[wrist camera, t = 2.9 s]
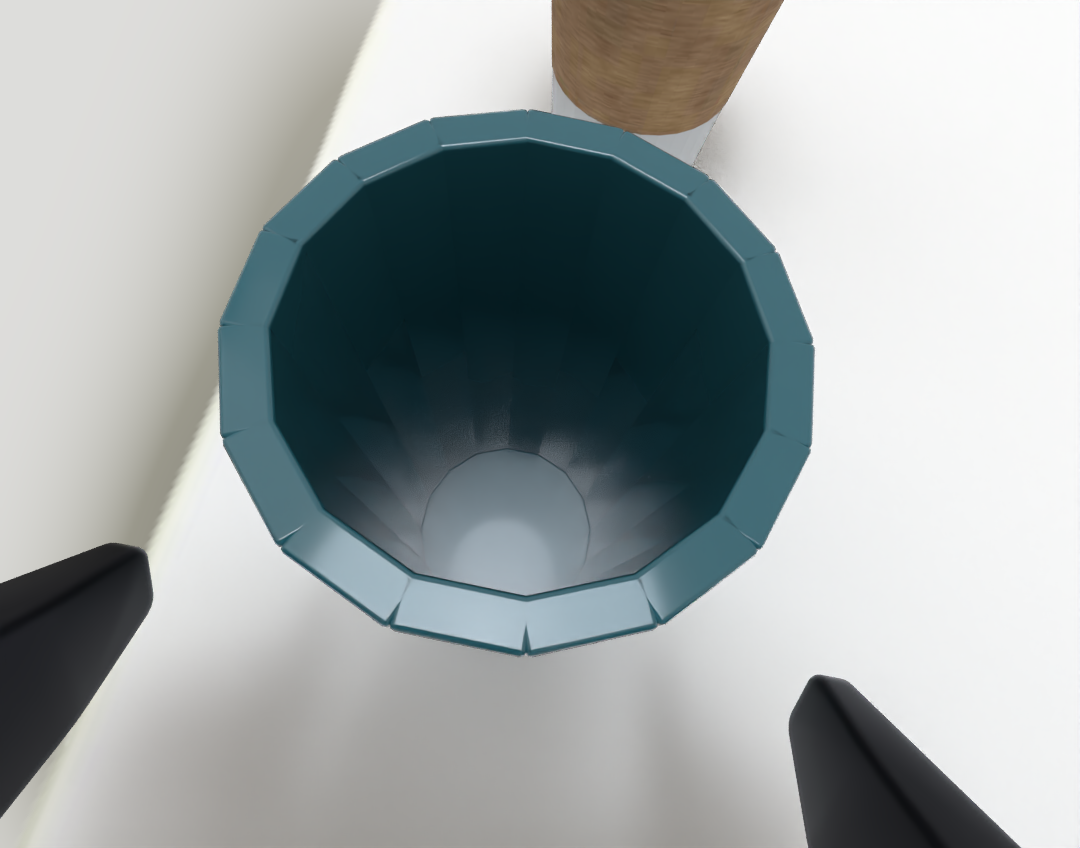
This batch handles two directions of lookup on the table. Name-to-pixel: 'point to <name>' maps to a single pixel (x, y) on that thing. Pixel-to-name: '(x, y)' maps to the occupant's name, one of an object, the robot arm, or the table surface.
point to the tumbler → (516, 382)
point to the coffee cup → (654, 64)
